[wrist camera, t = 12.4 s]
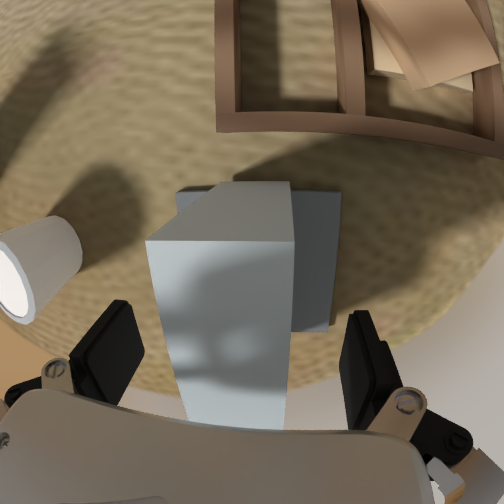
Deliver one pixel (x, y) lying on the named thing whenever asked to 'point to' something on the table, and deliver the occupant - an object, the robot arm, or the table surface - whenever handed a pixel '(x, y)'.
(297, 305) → the mat
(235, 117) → the tray
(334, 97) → the table surface
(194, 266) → the large gray cuboid
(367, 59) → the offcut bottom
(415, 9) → the offcut top
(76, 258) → the white cup
